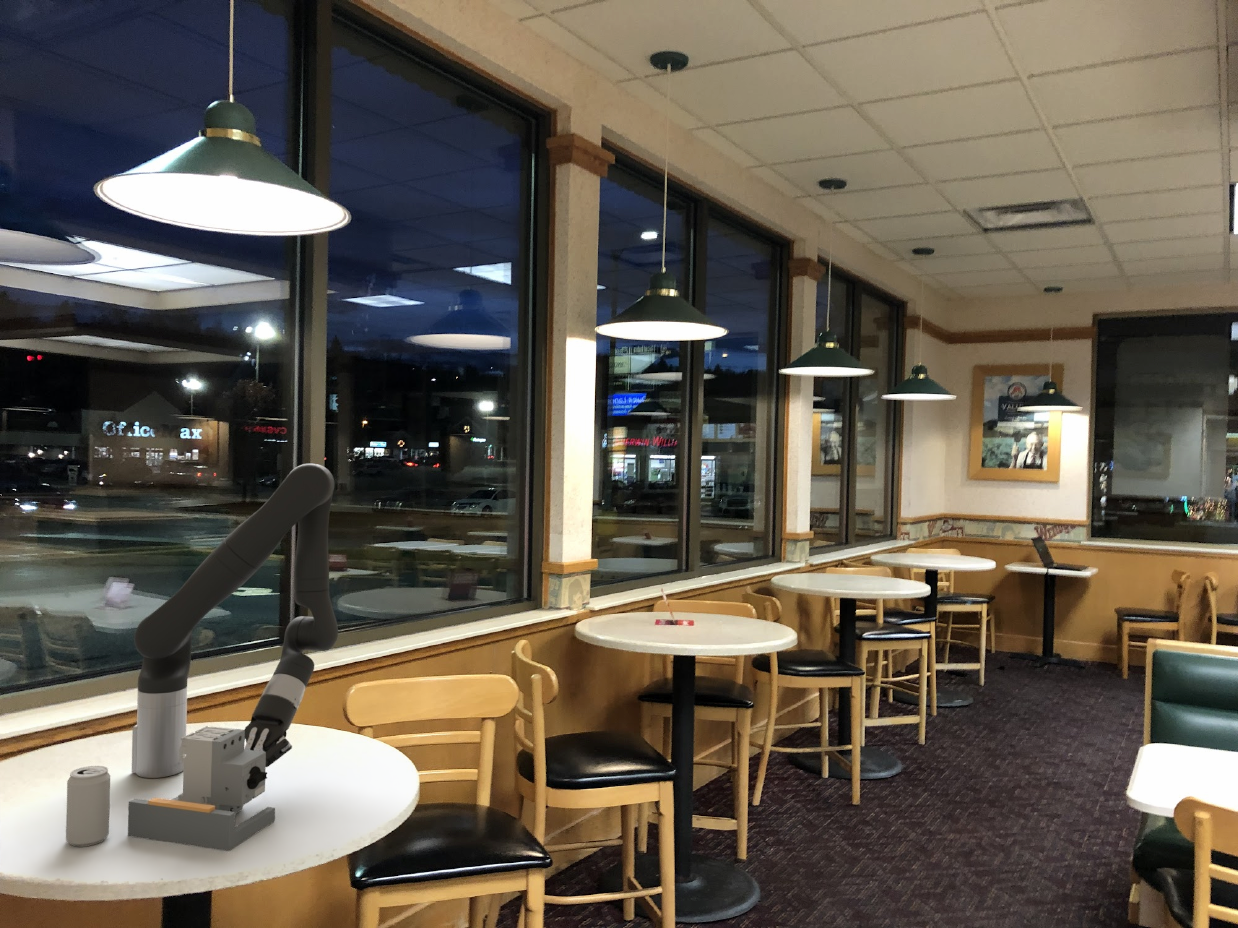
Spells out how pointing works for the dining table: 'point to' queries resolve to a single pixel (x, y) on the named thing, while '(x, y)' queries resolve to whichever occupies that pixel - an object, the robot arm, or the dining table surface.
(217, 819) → the breaker bay
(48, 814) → the dining table surface
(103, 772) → the beverage can
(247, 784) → the circuit breaker
